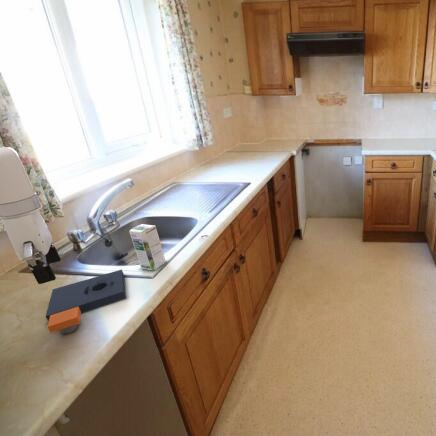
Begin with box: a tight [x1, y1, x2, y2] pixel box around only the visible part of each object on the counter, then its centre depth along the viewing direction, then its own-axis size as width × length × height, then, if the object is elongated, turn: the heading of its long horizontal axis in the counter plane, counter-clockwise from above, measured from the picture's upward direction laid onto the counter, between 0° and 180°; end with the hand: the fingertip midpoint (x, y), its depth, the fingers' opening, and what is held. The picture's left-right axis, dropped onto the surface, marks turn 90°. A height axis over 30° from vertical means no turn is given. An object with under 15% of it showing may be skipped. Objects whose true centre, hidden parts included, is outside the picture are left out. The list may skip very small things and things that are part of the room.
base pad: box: [45, 268, 127, 323], centre depth 95 cm, size 18×14×2 cm
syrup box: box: [128, 223, 167, 271], centre depth 107 cm, size 6×6×14 cm
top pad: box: [47, 307, 82, 335], centre depth 83 cm, size 6×5×4 cm
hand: (50, 271), depth 77 cm, fingers open, 9 cm apart
